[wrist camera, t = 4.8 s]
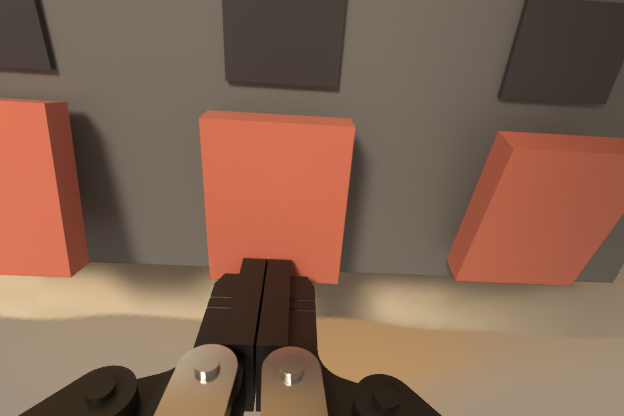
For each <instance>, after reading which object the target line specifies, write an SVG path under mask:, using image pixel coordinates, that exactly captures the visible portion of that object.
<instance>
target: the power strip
mask: <svg viewBox="0 0 624 416" xmlns="http://www.w3.org/2000/svg"><path fill="white" fill-rule="evenodd" d="M0 98H13V99H30V100H48V101H65V102H67V103H68V110H69V118H70V125H71V132H72V140H73V147H74V155H75V162H76V170H77V177H78V184H79V192H80V199H81V207H82V214H83V222H84V229H85V236H86V244H87V251H88V259H89V262H106V263H131V264H156V265H181V266H206V267H209V259H208V244H207V230H206V215H205V200H204V186H203V171H202V157H201V142H200V128H199V117H201V116H202V115H203V114H204V113H205V112H206V111H207V110H215V111H232V112H249V113H266V114H284V115H301V116H318V117H335V118H351V119H352V121H353V123H354V125H355V136H354V144H353V153H352V162H351V171H350V180H349V189H348V198H347V206H346V215H345V224H344V233H343V242H342V251H341V259H340V268H339V272H357V273H382V274H407V275H432V276H453V274H452V272H451V269H450V267H449V264H448V262H447V257H448V255H449V252H450V250H451V247H452V245H453V242H454V240H455V237H456V235H457V232H458V230H459V227H460V225H461V222H462V220H463V217H464V215H465V212H466V210H467V207H468V205H469V202H470V200H471V197H472V195H473V192H474V190H475V187H476V185H477V182H478V180H479V177H480V175H481V172H482V170H483V167H484V165H485V163H486V160H487V158H488V155H489V153H490V150H491V148H492V145H493V143H494V140H495V138H496V135H497V133H498V131H510V132H527V133H545V134H562V135H579V136H597V137H614V138H624V0H0ZM623 263H624V214H623V215H622V216H621V218H620V219H619V220H618V222H617V223H616V225H615V226H614V227H613V229H612V230H611V231H610V233H609V234H608V235H607V237H606V238H605V240H604V241H603V242H602V244H601V245H600V246H599V248H598V249H597V250H596V252H595V253H594V255H593V256H592V257H591V259H590V260H589V261H588V263H587V264H586V265H585V267H584V268H583V270H582V271H581V272H580V274H579V275H578V276H577V278H576V279H575V280H574V281H582V282H607V283H613V282H614V280H615V278H616V276H617V274H618V273H619V271H620V269H621V267H622V265H623Z"/></svg>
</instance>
